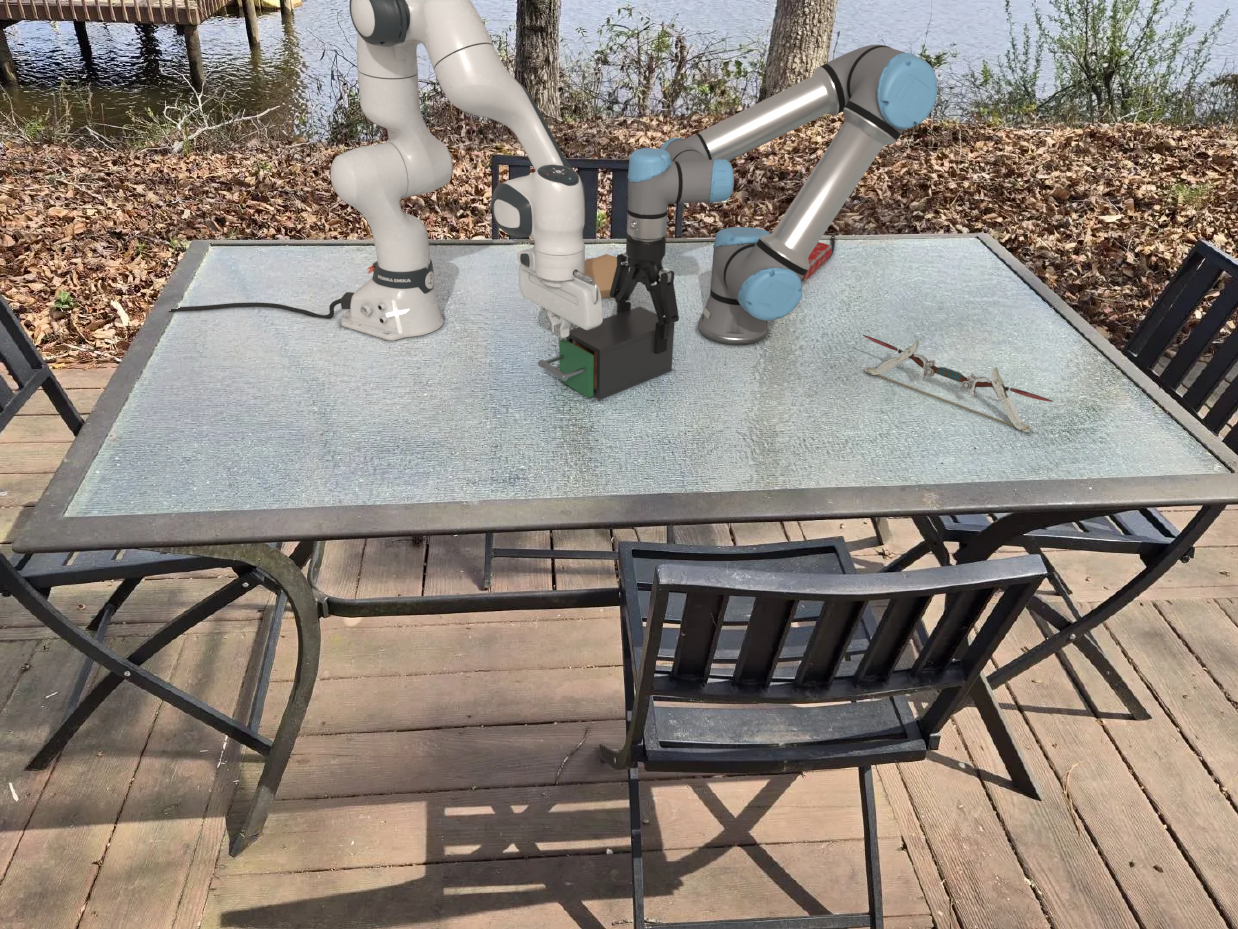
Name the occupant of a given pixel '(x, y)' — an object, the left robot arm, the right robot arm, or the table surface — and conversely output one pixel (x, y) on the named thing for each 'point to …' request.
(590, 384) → the drawer
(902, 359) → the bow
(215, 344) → the table surface
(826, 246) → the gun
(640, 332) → the dark grey box
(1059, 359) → the table surface
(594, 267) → the squash
